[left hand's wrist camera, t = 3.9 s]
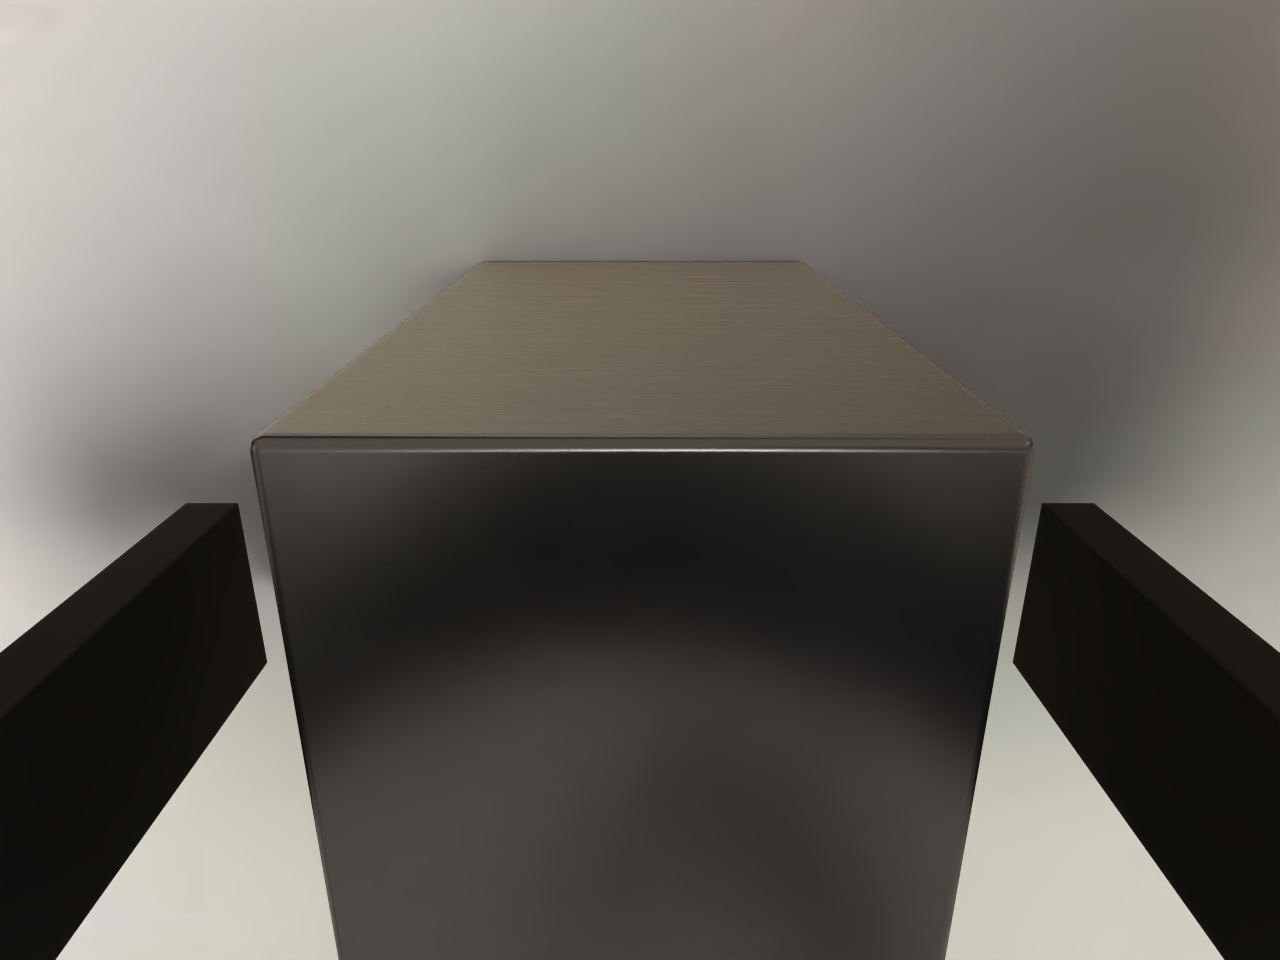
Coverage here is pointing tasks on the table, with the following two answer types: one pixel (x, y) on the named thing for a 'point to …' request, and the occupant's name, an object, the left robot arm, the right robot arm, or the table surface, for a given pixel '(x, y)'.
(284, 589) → the bar
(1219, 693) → the left robot arm
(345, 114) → the table surface
